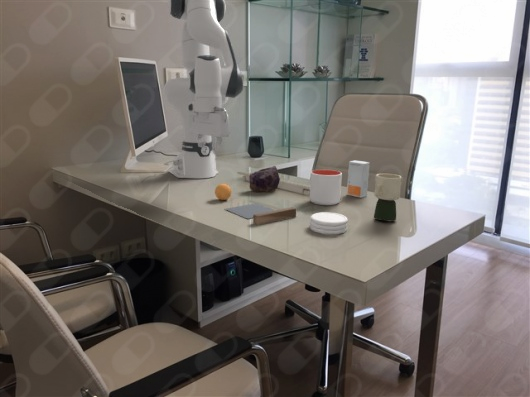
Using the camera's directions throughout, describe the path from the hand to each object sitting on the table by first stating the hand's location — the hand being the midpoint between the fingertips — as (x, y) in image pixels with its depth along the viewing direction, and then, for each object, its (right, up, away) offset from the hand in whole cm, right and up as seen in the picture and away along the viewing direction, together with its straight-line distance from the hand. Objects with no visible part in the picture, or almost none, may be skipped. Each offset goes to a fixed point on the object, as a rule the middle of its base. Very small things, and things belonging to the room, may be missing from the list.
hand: (208, 148), depth 148 cm
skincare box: (+51, -16, +6) cm, 54 cm away
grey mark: (+15, -21, -15) cm, 30 cm away
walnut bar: (+22, -23, -24) cm, 39 cm away
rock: (+20, -14, +11) cm, 27 cm away
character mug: (+53, -23, -22) cm, 62 cm away
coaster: (+36, -25, -30) cm, 53 cm away
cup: (+39, -18, -3) cm, 43 cm away
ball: (+5, -15, -4) cm, 16 cm away
